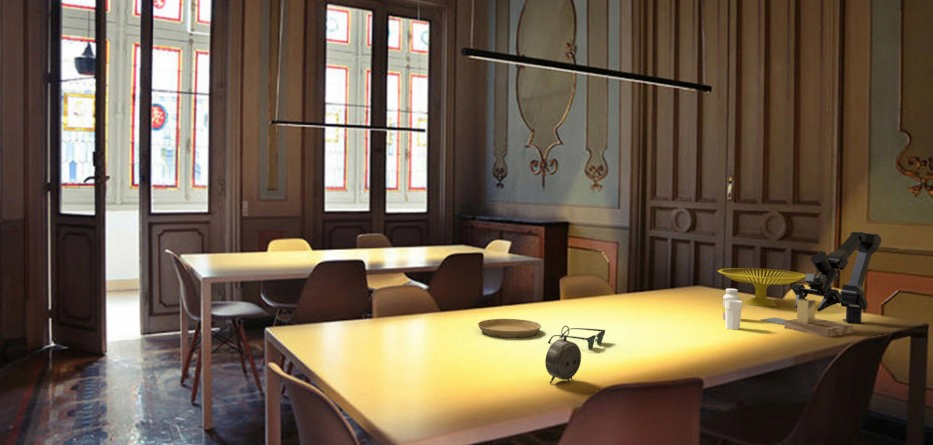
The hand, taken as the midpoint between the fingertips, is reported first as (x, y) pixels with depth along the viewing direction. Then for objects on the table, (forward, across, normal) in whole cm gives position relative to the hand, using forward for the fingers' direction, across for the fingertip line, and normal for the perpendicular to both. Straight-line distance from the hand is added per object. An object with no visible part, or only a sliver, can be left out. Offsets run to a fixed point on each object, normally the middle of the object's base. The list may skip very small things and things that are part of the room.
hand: (806, 309), depth 265 cm
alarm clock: (+99, +12, -86) cm, 132 cm away
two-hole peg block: (+4, +3, +8) cm, 9 cm away
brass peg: (+6, 0, +6) cm, 8 cm away
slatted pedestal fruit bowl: (-21, -48, +33) cm, 62 cm away
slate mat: (+2, -16, +9) cm, 18 cm away
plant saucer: (+83, -51, -69) cm, 119 cm away
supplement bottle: (+12, -28, 0) cm, 31 cm away
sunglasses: (+76, -24, -62) cm, 101 cm away
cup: (+23, -16, -11) cm, 30 cm away
